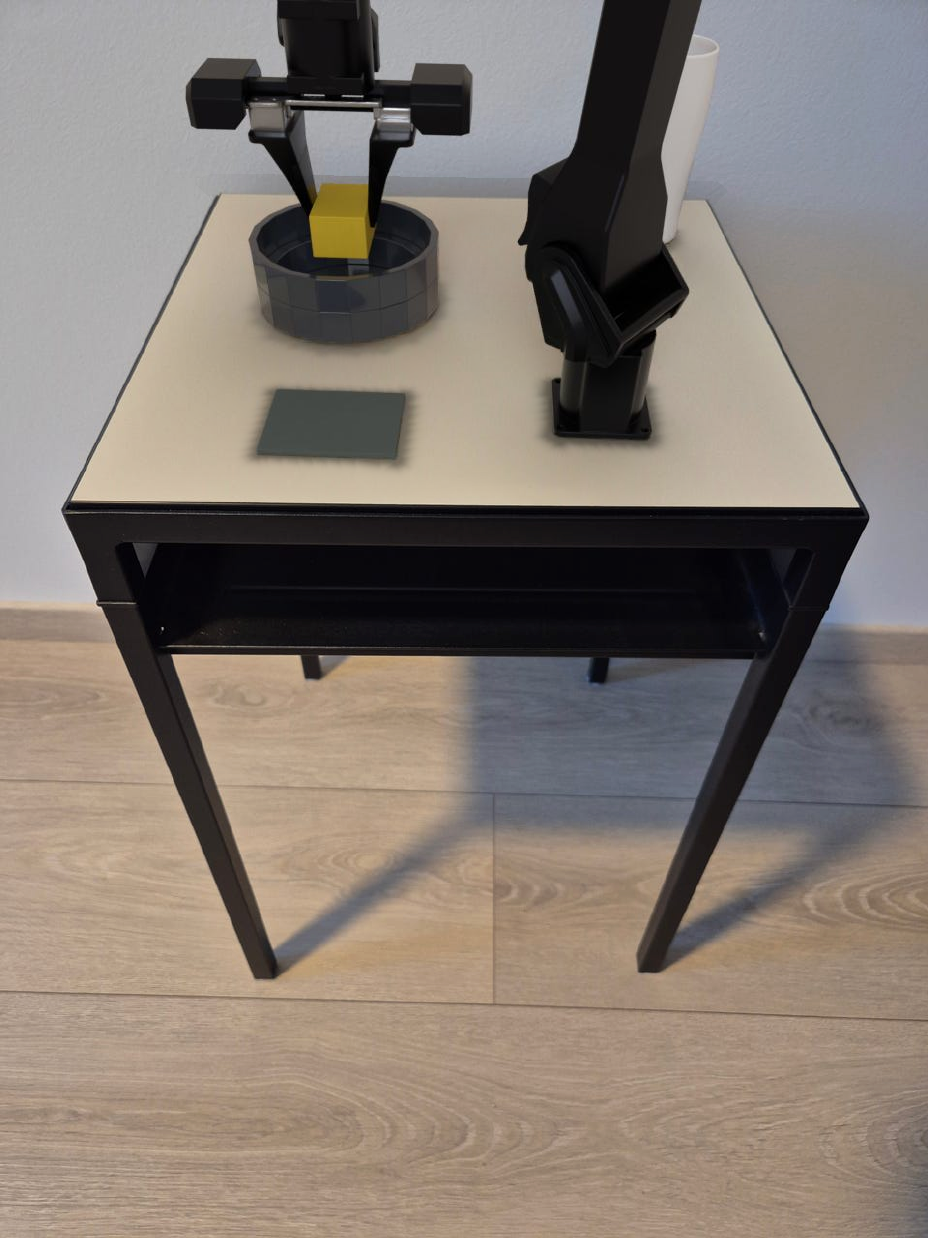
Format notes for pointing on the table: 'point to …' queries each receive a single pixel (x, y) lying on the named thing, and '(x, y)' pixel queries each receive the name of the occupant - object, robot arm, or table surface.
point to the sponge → (341, 222)
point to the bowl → (347, 277)
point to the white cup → (687, 125)
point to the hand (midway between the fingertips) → (344, 224)
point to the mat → (333, 424)
